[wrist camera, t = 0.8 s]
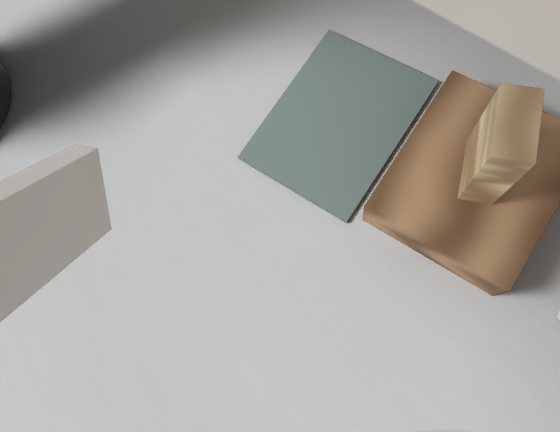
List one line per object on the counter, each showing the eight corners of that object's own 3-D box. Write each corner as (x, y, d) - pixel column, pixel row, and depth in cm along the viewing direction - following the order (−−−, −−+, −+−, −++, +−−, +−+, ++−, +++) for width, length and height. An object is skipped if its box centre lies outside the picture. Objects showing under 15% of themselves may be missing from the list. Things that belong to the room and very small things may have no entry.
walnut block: (362, 219, 38) (364, 206, 34) (442, 96, 40) (452, 70, 36) (492, 295, 35) (510, 290, 31) (571, 157, 37) (597, 135, 33)
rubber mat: (238, 158, 41) (237, 157, 41) (329, 32, 44) (328, 29, 43) (346, 223, 38) (346, 221, 38) (437, 83, 41) (438, 80, 40)
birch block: (457, 198, 33) (490, 156, 26) (466, 140, 35) (500, 83, 27) (491, 204, 33) (535, 163, 25) (500, 145, 34) (544, 88, 26)
